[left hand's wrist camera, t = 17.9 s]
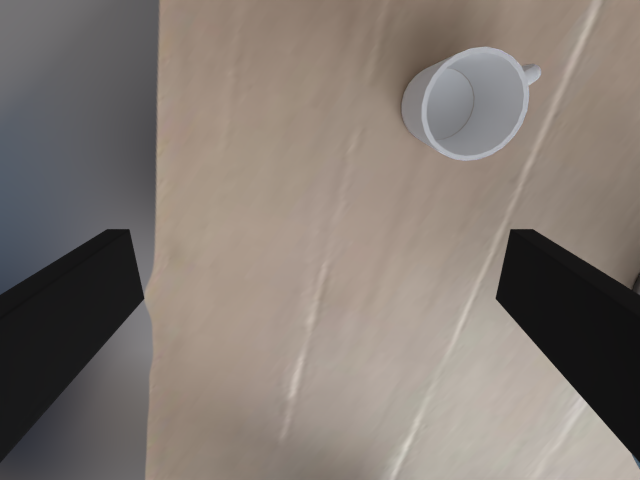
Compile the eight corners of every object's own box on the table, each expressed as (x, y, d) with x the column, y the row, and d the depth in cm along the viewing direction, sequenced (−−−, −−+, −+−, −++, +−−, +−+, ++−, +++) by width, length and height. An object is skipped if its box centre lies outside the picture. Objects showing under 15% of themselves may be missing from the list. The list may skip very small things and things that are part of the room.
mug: (414, 159, 41) (442, 178, 32) (383, 86, 38) (404, 82, 29) (505, 113, 39) (565, 118, 30) (481, 32, 36) (538, 9, 27)
